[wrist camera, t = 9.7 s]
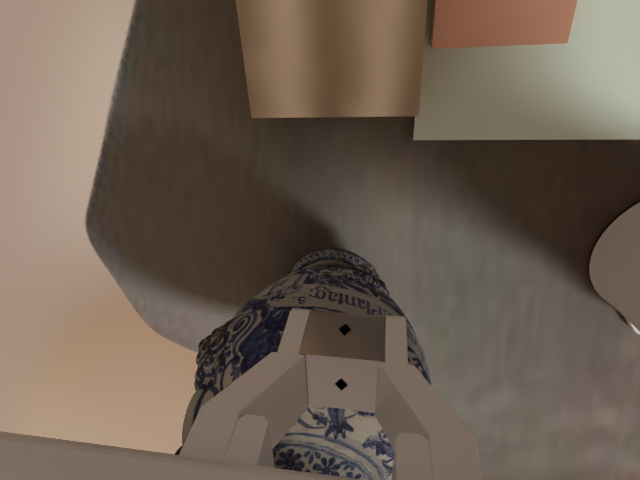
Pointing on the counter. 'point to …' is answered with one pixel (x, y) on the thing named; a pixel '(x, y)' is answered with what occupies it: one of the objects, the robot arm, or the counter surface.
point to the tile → (500, 22)
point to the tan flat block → (332, 57)
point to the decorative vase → (264, 337)
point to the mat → (538, 83)
